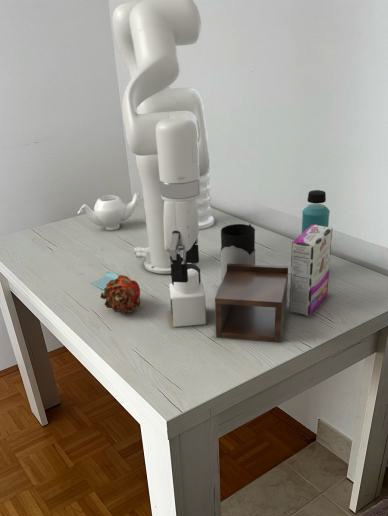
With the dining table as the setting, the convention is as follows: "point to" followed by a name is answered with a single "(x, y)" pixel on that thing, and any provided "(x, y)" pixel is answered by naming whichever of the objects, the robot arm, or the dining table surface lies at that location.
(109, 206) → the teapot
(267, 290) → the dark wooden cubby
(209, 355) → the dining table surface
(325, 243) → the candy bar box
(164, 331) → the dining table surface
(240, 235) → the black and white mug
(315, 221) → the beverage bottle
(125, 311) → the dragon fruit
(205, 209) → the decorative container
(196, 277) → the medicine bottle
